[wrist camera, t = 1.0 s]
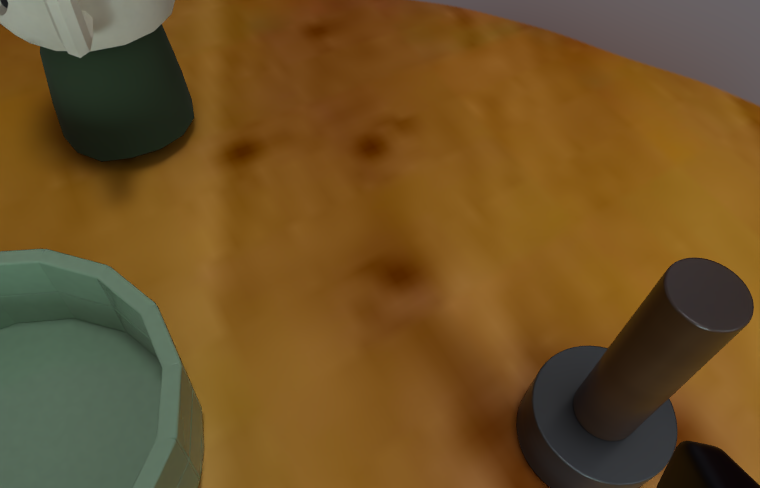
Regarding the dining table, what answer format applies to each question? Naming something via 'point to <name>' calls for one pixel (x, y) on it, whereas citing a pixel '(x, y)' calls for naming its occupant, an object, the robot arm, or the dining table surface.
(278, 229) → the dining table surface
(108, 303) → the bowl
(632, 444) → the grey peg stand
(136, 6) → the character mug
